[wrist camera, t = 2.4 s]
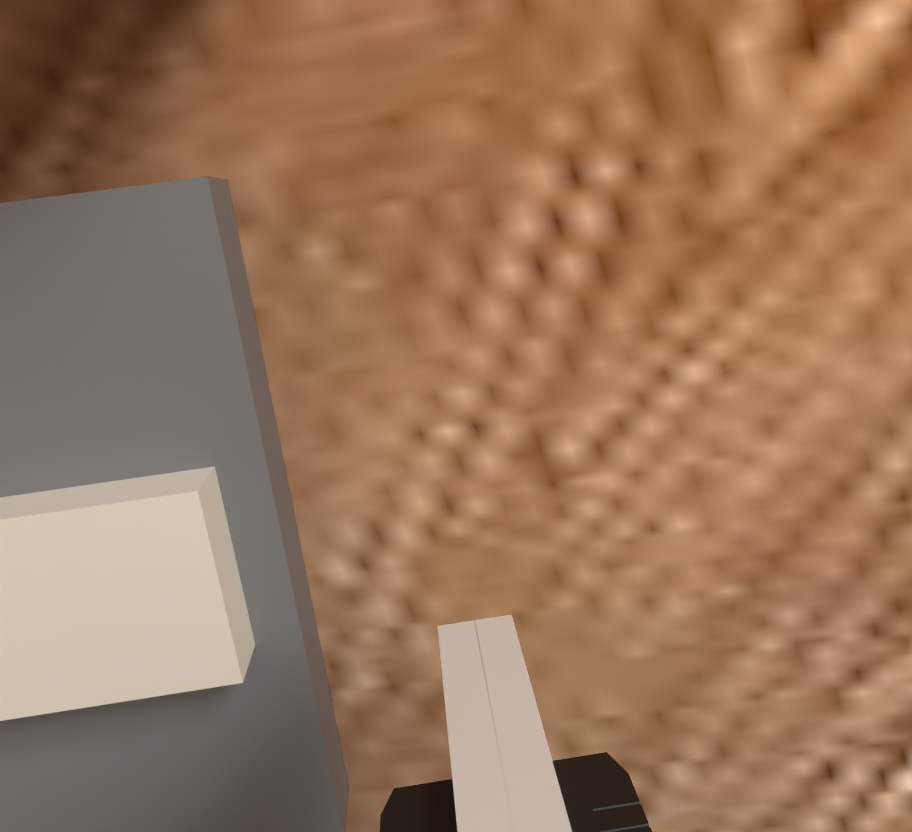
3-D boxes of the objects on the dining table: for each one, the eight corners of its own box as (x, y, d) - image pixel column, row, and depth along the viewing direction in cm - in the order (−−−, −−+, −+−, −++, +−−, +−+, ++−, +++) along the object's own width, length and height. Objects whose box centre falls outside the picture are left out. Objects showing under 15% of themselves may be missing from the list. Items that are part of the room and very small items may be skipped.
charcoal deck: (348, 786, 28) (344, 839, 26) (-30, 848, 28) (-70, 908, 25) (227, 180, 22) (207, 176, 20) (-258, 242, 22) (-339, 245, 19)
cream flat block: (214, 466, 22) (197, 490, 20) (255, 644, 24) (243, 682, 22) (-99, 511, 22) (-146, 541, 20) (-36, 689, 23) (-74, 732, 21)
